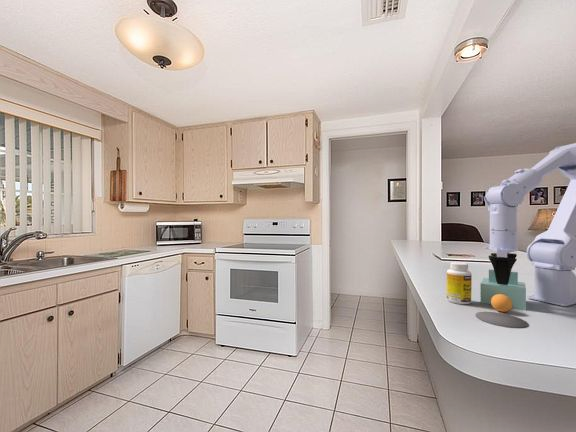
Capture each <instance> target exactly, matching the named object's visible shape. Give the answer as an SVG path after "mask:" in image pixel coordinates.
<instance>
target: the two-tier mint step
mask: <svg viewBox="0 0 576 432" xmlns="http://www.w3.org/2000/svg"><path fill="white" fill-rule="evenodd" d="M518 275H519V273H518V271H511V273H510V278H509V283H508V285H501V284H497V281H496V277H495V272H494V269H491V268H489V269H488V277H483V278H482V279H481V282H480V303H481V304H486V305H487V304H488V305H492V304H491V299H492V297H493V296H494V295H497V294H503V295H505V296H507V297H509V298H510V300H511V301H512V308H511V309H516V310H522V311H526V310H527V295H526V294H527V287H526V282H520V281H519V276H518Z"/></svg>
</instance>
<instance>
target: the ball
mask: <svg viewBox="0 0 576 432" xmlns="http://www.w3.org/2000/svg"><path fill="white" fill-rule="evenodd" d="M490 305H491V306H492V307H493V308H494V309H495V310H496V311H498V312H501V313H502V312H504V313H506V312H508V311H511V309H513V308H512V301H511V300H510V298H509V297H507V296H505V295H503V294H497V295H494V296H493V297H492V299H491V304H490Z"/></svg>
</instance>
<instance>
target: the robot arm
mask: <svg viewBox="0 0 576 432" xmlns="http://www.w3.org/2000/svg"><path fill="white" fill-rule="evenodd" d="M557 169H558V171H559V172H560V173H561V175H562V176H563V177H564V178H567V179H569V181H570V182H569V183H568V185H567V188H566V190H565V192H564V195H563V196H562V198H561V201H560V203H559V205H558V207H557V210H556V212H555V213H554V216H553V219H552V220H551V222H550V225H549V227H548V229H547V230H546V231H543V232H542V233H540V234H537V235H536V236H535V238H534V240H533V241H532V242H531V243H529V245H527V248H526V253H525V254H526V257H527V260H529V261H530V262H531V265H532V266H534V294H533V295H532V294H531V295H528V296H526V299H530V300H535V301H539V302H543V303H547V304H552V305H556V306H557V305H558V306H561V307H568V306H571V305H575V304H576V274H575V272H573V271H576V142H574V143H570V144H566V145H559V146H556V147H555V148H554V149H552V150H550V151H549V153H548V154H547V155H546V156H545V157H544V158H542V159H541V160H540V161H539V162H537V163H536V164H535V165H533V166H532V167H531V168H520V169H517V170H515V171H514V175H512V176H510V177H509V178H508V179H503V180H502V181H501V183H500V184H499V185H498V186H491V187H490V188H489V189H488V190H487V191H486V192H485V196H483V201H484V202H485V204H486V206H487V212H488V213H489V245H485V246H484V247H483V249H485V250H490V251H494V252H492V253H490V255H488V259H489V262H490V263H491V266H492V268H493V270H494V272H495V277H496V281H497V284H501V285H508V283H509V278H510V273H511V272H512V269H513V267H514V266H515V264H516V262H517V253H516V252H519V248H518V206H519V205H521V204H523V201H524V199H525V196H526V195H527V194H529V193H531V192H532V191H533V190H535V189H536V188H537V187H538V186H541V184H542V183H543V178H544V177H546V176H547V175H549V174H551V173H552V172H554V171H555V170H557ZM514 252H515V253H514Z"/></svg>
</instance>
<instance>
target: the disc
mask: <svg viewBox="0 0 576 432" xmlns="http://www.w3.org/2000/svg"><path fill="white" fill-rule="evenodd" d="M475 317H476V318H477V319H478V320H480V321H482V322H485V323H488V324H490V325H495V326H498V327H505V328H510V329H511V328H512V329H513V328H515V329H523V328H527V327H528V325H529V323H528V322H527V321H526V320H524V319H522V318H520V317H517V316H514V315H510V314H508V313H507V314H506V313H502V312H501V313H500V312H495V311H478V312H476V313H475Z"/></svg>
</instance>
